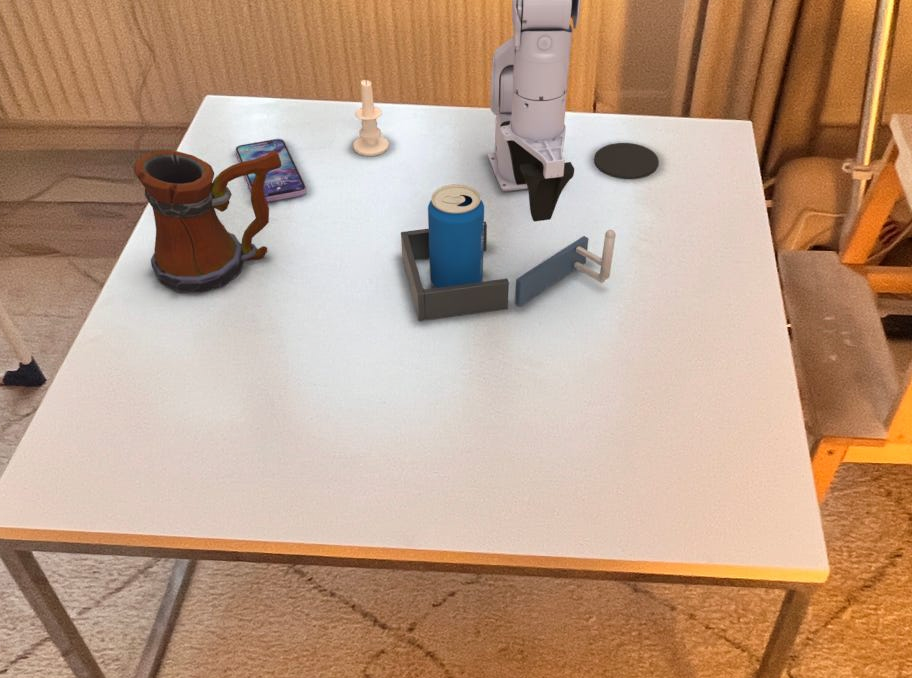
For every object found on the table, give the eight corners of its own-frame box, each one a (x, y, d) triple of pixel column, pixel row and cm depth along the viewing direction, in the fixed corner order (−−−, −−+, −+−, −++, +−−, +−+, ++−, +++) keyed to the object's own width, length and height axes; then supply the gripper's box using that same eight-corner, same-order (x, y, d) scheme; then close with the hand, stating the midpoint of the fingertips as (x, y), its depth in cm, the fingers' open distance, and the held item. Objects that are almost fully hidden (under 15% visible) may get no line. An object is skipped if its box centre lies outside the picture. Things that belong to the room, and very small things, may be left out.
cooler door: (618, 280, 113) (626, 225, 107) (551, 326, 108) (556, 270, 102) (581, 260, 116) (587, 205, 110) (514, 303, 111) (517, 248, 105)
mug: (291, 228, 123) (274, 122, 112) (300, 280, 115) (283, 173, 104) (153, 247, 121) (122, 141, 110) (154, 301, 113) (120, 194, 102)
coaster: (586, 149, 134) (586, 146, 134) (645, 142, 135) (646, 139, 135) (605, 182, 128) (605, 180, 128) (667, 174, 129) (667, 172, 129)
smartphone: (283, 137, 137) (308, 189, 127) (283, 143, 137) (308, 195, 128) (233, 145, 135) (255, 199, 126) (234, 151, 136) (256, 205, 126)
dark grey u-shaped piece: (485, 247, 119) (485, 220, 116) (507, 309, 110) (509, 282, 108) (402, 258, 118) (400, 231, 115) (418, 321, 109) (417, 294, 106)
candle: (395, 143, 137) (391, 75, 129) (376, 159, 134) (370, 90, 126) (366, 134, 139) (360, 66, 131) (346, 150, 136) (339, 82, 128)
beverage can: (478, 301, 112) (479, 216, 103) (425, 295, 113) (422, 211, 104) (486, 269, 116) (488, 184, 107) (435, 263, 117) (433, 179, 108)
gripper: (487, 61, 102) (485, 171, 112) (520, 126, 92) (514, 240, 102) (549, 54, 102) (541, 164, 112) (588, 118, 93) (576, 232, 103)
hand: (532, 200), depth 107 cm, fingers open, 7 cm apart
